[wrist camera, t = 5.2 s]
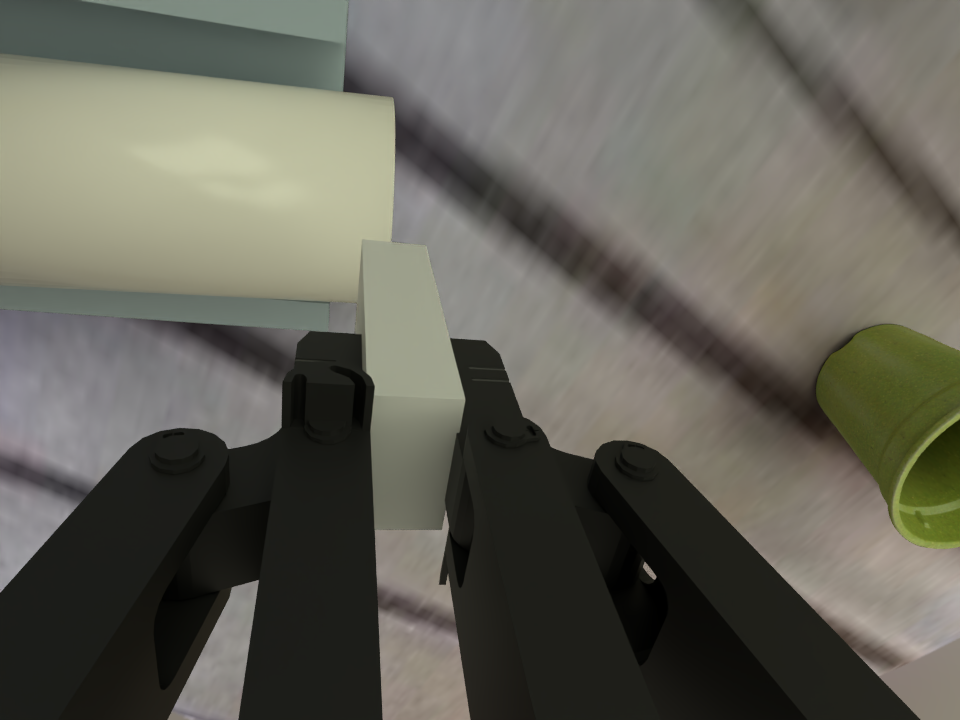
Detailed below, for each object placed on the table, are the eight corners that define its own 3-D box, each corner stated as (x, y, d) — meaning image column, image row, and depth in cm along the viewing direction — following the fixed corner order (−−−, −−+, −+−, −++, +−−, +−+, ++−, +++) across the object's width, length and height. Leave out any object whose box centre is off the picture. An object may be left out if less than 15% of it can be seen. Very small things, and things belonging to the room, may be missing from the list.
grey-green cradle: (348, -6, 24) (347, 0, 20) (330, 287, 29) (327, 332, 26) (-358, -133, 19) (-514, -153, 16) (-220, 241, 25) (-314, 287, 21)
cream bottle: (399, 137, 18) (-528, 44, 14) (383, 343, 23) (-344, 316, 18) (389, 73, 24) (-282, -8, 20) (378, 247, 28) (-183, 210, 24)
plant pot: (803, 304, 34) (928, 400, 26) (971, 282, 35) (1137, 369, 27) (771, 448, 39) (869, 563, 31) (919, 425, 40) (1047, 531, 32)
